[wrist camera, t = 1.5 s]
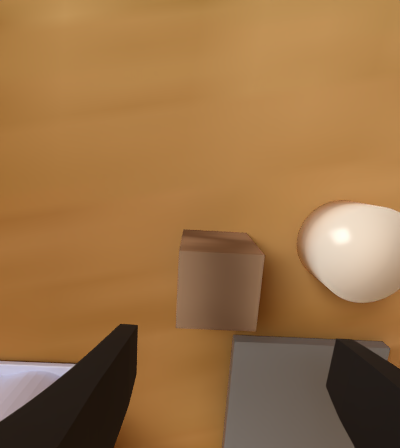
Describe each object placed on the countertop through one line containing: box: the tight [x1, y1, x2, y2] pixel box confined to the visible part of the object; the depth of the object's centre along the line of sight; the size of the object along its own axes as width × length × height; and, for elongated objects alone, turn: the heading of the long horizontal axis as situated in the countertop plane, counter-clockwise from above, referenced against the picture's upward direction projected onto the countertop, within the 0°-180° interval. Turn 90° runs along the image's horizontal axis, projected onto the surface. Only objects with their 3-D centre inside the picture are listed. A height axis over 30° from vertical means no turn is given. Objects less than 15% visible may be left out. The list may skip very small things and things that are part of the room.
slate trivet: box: [222, 335, 390, 448], centre depth 20 cm, size 12×12×1 cm
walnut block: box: [176, 230, 265, 331], centre depth 16 cm, size 4×4×5 cm
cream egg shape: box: [297, 200, 400, 303], centre depth 17 cm, size 6×6×4 cm
